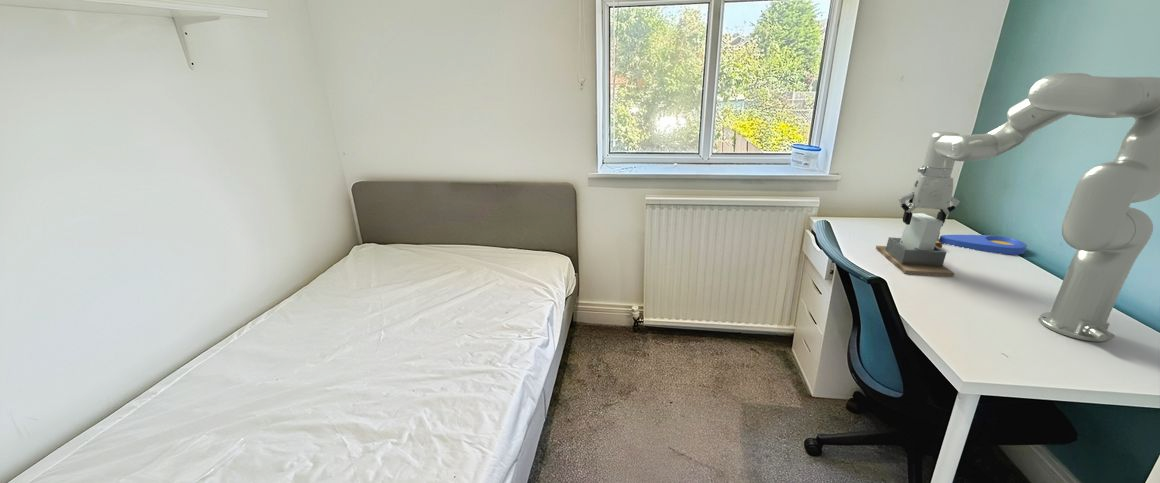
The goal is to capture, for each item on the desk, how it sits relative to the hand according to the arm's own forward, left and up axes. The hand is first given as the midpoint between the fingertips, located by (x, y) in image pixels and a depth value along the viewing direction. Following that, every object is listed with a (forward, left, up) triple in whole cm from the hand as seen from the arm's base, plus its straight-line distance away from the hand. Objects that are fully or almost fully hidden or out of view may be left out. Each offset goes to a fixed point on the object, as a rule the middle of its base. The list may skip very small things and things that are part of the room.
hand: (922, 224), depth 152 cm
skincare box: (0, 0, -12) cm, 12 cm away
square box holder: (0, 0, -13) cm, 13 cm away
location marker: (+20, -32, -14) cm, 40 cm away
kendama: (+22, -15, -14) cm, 30 cm away
